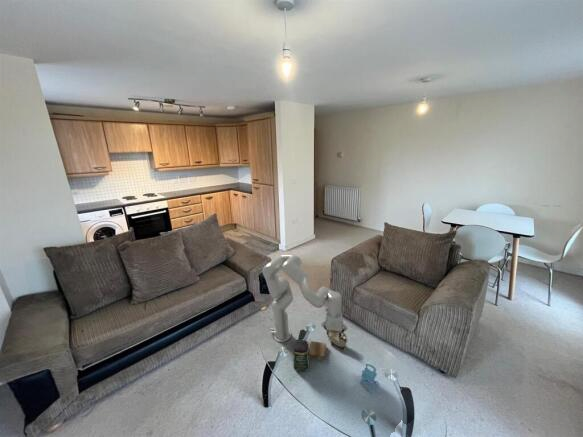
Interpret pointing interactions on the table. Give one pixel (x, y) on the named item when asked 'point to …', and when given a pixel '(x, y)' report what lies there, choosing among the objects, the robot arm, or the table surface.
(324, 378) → the table surface
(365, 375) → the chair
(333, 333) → the beech cube
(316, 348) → the pedestal
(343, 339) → the food container
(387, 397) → the table surface
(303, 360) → the coffee jar
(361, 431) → the table surface
